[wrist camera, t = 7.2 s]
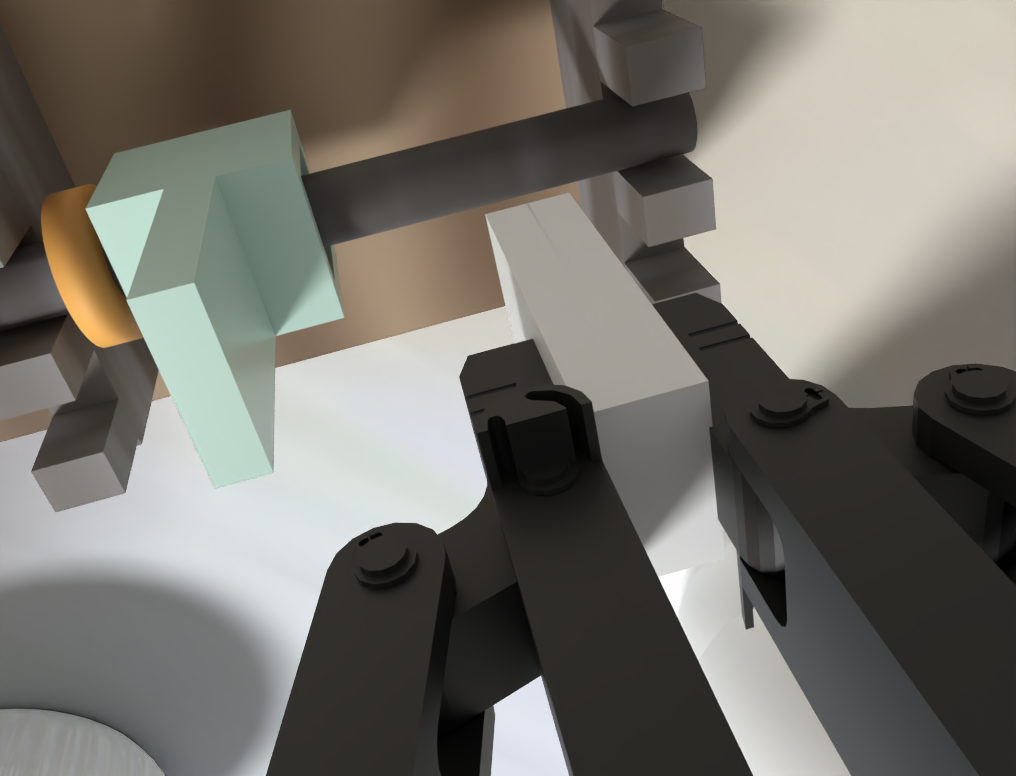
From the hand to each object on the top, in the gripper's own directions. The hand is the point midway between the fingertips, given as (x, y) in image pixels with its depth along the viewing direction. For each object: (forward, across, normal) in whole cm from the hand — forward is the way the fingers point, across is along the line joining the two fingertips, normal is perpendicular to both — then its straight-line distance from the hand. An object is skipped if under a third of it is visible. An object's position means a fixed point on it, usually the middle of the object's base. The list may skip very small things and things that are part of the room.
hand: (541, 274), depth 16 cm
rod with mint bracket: (+11, +5, 0) cm, 12 cm away
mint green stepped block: (+7, +6, 0) cm, 9 cm away
